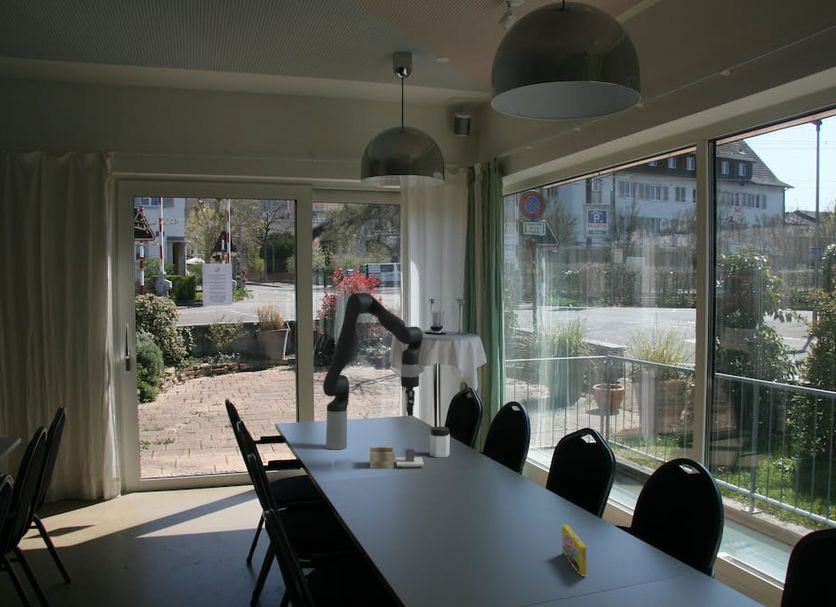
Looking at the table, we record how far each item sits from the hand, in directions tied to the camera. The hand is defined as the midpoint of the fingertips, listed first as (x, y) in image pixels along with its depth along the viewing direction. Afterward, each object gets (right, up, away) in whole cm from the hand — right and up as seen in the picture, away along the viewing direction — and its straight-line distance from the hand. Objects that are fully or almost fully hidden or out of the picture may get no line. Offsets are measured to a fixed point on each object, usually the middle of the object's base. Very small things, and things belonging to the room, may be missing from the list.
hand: (409, 413), depth 288 cm
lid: (0, -21, 0) cm, 21 cm away
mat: (0, -22, 0) cm, 22 cm away
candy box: (+46, -26, -98) cm, 112 cm away
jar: (+13, -22, +19) cm, 32 cm away
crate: (-11, -22, 0) cm, 25 cm away
